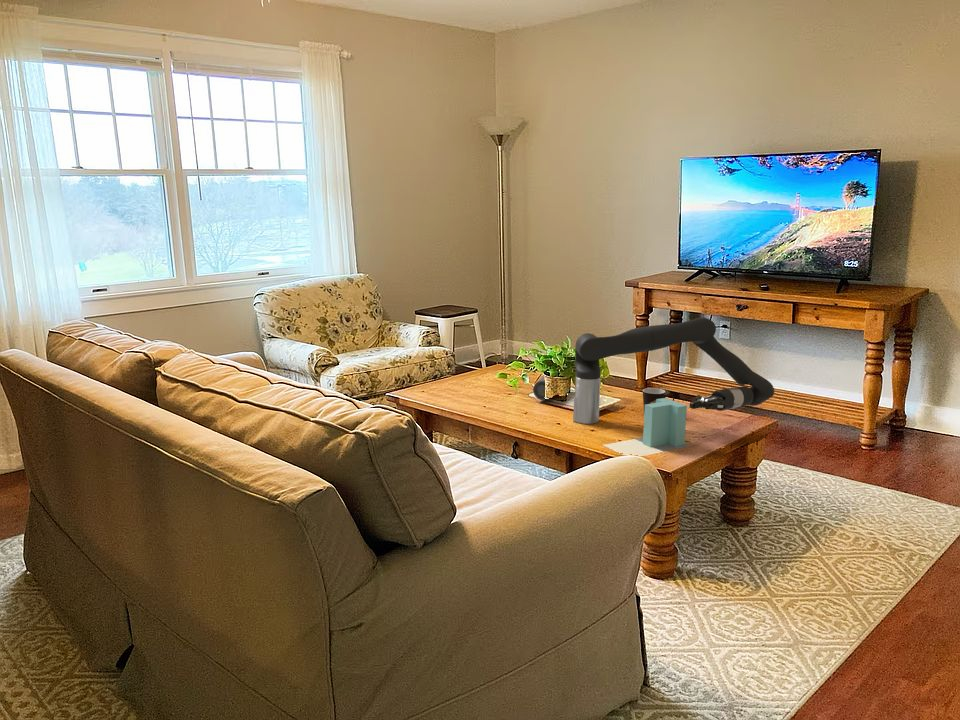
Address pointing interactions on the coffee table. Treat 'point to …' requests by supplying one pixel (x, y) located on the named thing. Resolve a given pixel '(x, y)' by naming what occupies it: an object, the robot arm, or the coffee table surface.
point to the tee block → (664, 423)
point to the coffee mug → (653, 395)
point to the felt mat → (640, 447)
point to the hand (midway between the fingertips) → (691, 405)
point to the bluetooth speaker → (539, 389)
